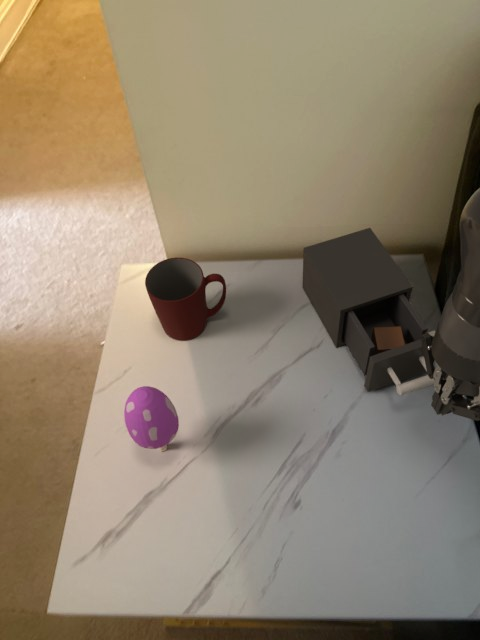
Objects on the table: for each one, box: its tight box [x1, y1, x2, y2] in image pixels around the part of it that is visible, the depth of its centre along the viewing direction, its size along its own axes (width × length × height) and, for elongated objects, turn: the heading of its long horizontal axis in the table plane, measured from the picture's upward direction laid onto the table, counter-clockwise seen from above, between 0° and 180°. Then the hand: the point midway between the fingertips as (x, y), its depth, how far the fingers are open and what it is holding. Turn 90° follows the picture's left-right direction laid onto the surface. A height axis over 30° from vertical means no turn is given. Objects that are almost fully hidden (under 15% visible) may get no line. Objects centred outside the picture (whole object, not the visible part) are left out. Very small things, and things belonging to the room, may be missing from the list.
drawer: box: [342, 293, 435, 396], centre depth 82 cm, size 17×10×8 cm, turn 19°
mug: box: [144, 257, 227, 342], centre depth 89 cm, size 12×9×11 cm
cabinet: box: [301, 227, 414, 349], centre depth 89 cm, size 14×12×10 cm
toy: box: [123, 385, 180, 452], centre depth 74 cm, size 7×7×15 cm
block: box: [371, 326, 405, 355], centre depth 83 cm, size 4×4×4 cm
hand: (440, 407), depth 73 cm, fingers closed
